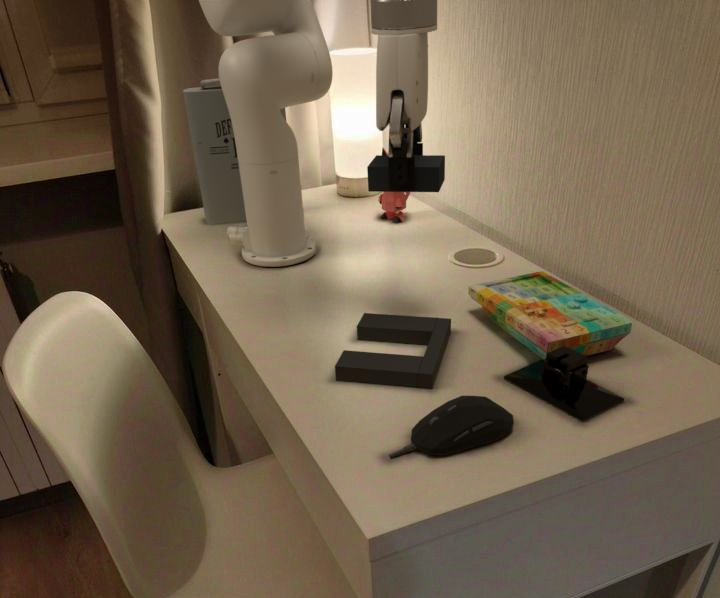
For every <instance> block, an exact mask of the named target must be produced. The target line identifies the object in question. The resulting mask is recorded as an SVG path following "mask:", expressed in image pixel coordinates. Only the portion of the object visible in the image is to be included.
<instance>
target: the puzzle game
mask: <svg viewBox="0 0 720 598" xmlns="http://www.w3.org/2000/svg"><path fill="white" fill-rule="evenodd" d="M468 295H469V297H470V298H471V299H472V300H473V301H474V302H476V303H477V304H479V305H480V306H481V307H482V309H483V312H484V314H485V315H486V317H488V319H489V320H490V321H491V322H492V323H494V324H495V325H496V326H498V327H499V328H500V329H502V330H503V331H504V332H506V333H507V334H508V335H510V336H511V337H512V338H514V339H515V340H516V341H518V342H519V343H521V344H522V345H524V346H525V347H526V348H527V349H529V350H530V351H531V352H533V353H534V354H535V355H536V356H538V357H539V358H540V359H541V360H542V359H543V360H544V359H546V354H547V353H548V352H551V351H553V350H555V349H558V348H560V347H562V346H565V347H568V348H570V349H572V350H574V351H576V352H578V353H580V354H582V355H584V356H587V357H588V356H592V355H595V354H600V353H604V352H607V351H611V350H613V349H614V348H615V347H616V346H617V345H618V344H619V343H620V342H622V340H623V339H625V338H626V337H627V336H628V335H630V334H631V331H632V326H633V323H632V322H631V321H630V320H629V318H628V317H626V316H625V315H622V314H620V313H619V312H617V311H615V310H613V309H612V308H610V307H608V306H606V305H604V304H603V303H601V302H599V301H597V300H595V299H594V298H592V297H590V296H588V295H586V294H585V293H582V292H581V291H579V290H578V289H575V288H574V287H572V286H570V285H568V284H566V283H564V282H563V281H561V280H559V279H557V278H556V277H554V276H552V275H549V274H548V273H546V272H545V271H543V270H539V271H536V272H531V273H526V274H521V275H516V276H512V277H511V276H510V277H507V278H502V279H497V280H492V281H487V282H481V283H477V284H472V285H469V286H468Z"/></svg>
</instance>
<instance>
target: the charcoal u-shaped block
mask: <svg viewBox="0 0 720 598" xmlns="http://www.w3.org/2000/svg"><path fill="white" fill-rule="evenodd" d="M451 331H452V318H448V317H447V318H445V317H431V316H419V315H416V316H415V315H402V314H387V313H385V314H384V313H373V312H363V314H362V316H361V318H360V320H359V321H358V323H357V325H356V337H357V338H356V339H357V340H358V341H368V342H369V341H370V342H382V343H394V344H395V343H396V344H397V343H398V344H409V345H411V344H412V345H423V346H427V347H426V349H425V352H424V355H423V356H422V355H410V354H398V353H397V354H396V353H386V352H385V353H383V352H371V351H358V350H347V349H346V350H345V349H344V350H343V351H342V352H341V354H340V356H339V358H338V360H337V362H336V363H335V365H334V372H335V373H334V374H335V380H336V381H343V382H352V383H353V382H354V383H362V384H363V383H365V384H376V385H388V386H398V387H408V388H420V389H421V388H422V389H433V387H434V386H435V385H434V384H435V381H436V378H437V376H438V372H439V370H440V366H441V363H442V360H443V357H444V354H445V351H446V348H447V345H448V342H449V338H450V336H451V334H452V333H451Z"/></svg>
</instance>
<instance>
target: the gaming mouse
mask: <svg viewBox="0 0 720 598" xmlns="http://www.w3.org/2000/svg"><path fill="white" fill-rule="evenodd" d="M514 423H515V420H514V414H512V413H511V412H509V411H508V410H507V409H506V408H505V407H503V406H502V405H500V404H498V403H497V402H495V401H493V400H492V399H490V398H488V397H487V396H483V395H482V396H481V395H459V396H457V397H455V398H452V399H450V400H448V401H446V402H444V403H443V404H441V405H440V406H438V407H436V408H434V409H433V410H431V411H430V412H429V413H427V414H426V415H425V416H423V417H422V418H421V419H420V420H419V421H418V422H417V423H416V424H415V425H414V427H413V428H412V429H411V433H410V434H411V435H410V442H411V443H410V444H407V445H406V446H403V448H401V449H399V450H397V451H394V452H392V453H390V454H388V457H389V458H390V459H392V458H394V457H397V456H399V455H402V454H403V453H404V454H405V453H406V454H407V453H409V452H411V451H414V450H415V449H418V451H420V452H423V453H426V454H429V455H431V456H448V455H451V454H454V453H459V452H462V451H465V450H468V449H471V448H474V447H477V446H483V445H486V444H488V443H492V442H495V441H497V440H500V439H501V438H503V437H504V436H506V435H508V434H509V433H510V432H511V431H512V429H513V427H514Z"/></svg>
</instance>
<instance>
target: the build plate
mask: <svg viewBox="0 0 720 598" xmlns="http://www.w3.org/2000/svg"><path fill="white" fill-rule="evenodd" d="M588 359H589V357H588V356H584V355H582V354H580V353H578V352H576V351H574V350H572V349H570V348H568V347H565V346H562V347H560V348H558V349H555V350H553V351H551V352H548V353H547V354H546V359H544V360H543V359H542V358H541V359H539V360H537V361H535V362H533V363H530V364H528V365H526V366H523V367H521V368H519V369H517V370H515V371H512V372H510V373H507V374H505V375H503V380H505V381H506V382H508V383H510V384H512V385H513V386H516V387H517V388H519V389H521V390H523V391H524V392H526V393H528V394H530V395H532V396H533V397H536V398H537V399H539V400H541V401H542V402H545V403H546V404H548V405H550V406H551V407H554V408H555V409H557V410H559V411H561V412H562V413H564V414H566V415H568V416H569V417H571V418H573V419H575V420H577V421H579V422H581V423H585V422H587V421H589V420H591V419H593V418H595V417H597V416H599V415H601V414H603V413H605V412H606V411H609V410H611V409H612V408H614V407H616V406H619V405H620V404H622V403H624V402H625V397H622V396H620V395H618V394H616V393H614V392H613V391H610V390H608V389H606V388H604V387H603V386H600V385H599V384H597V383H594V382H592V381H591V380H588V379H587V378H588V374H589V364H587V363H588Z"/></svg>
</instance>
